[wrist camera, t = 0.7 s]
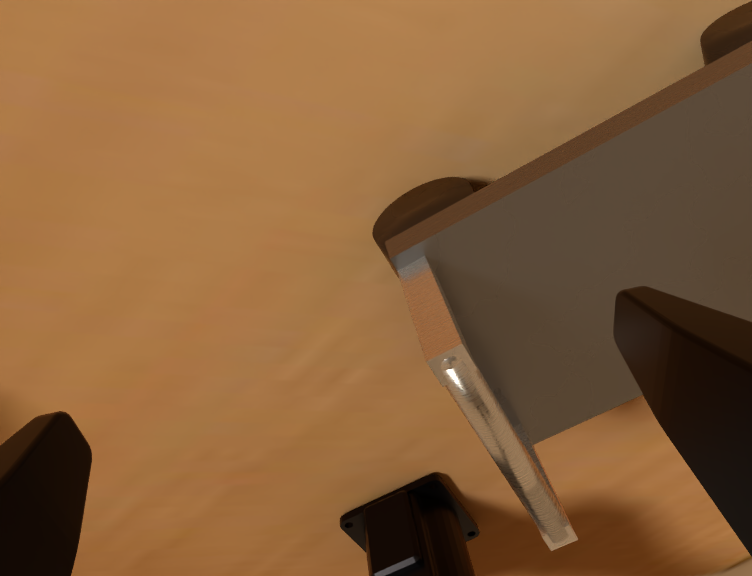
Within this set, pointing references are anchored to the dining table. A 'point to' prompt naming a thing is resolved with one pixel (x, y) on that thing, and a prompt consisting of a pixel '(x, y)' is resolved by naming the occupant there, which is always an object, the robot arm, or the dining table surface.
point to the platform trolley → (579, 259)
